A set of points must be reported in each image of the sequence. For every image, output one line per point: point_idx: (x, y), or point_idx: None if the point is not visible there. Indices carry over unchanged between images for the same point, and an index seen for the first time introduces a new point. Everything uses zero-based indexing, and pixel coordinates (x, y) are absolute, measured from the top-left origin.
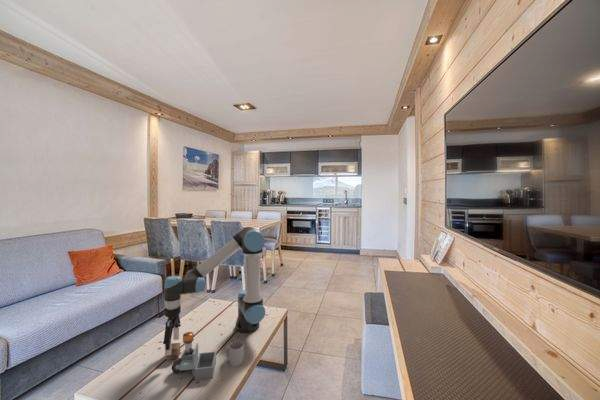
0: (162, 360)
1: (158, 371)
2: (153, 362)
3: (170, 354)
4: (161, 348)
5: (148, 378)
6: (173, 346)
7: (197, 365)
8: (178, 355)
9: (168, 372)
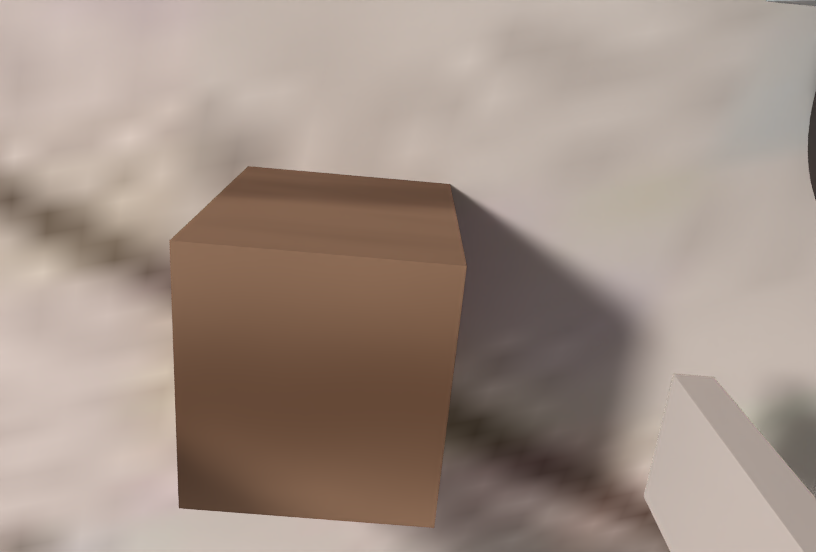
0: None
1: None
2: (419, 549)
3: (722, 393)
4: (33, 520)
5: None
6: (341, 387)
7: None
8: (387, 190)
9: (798, 277)
